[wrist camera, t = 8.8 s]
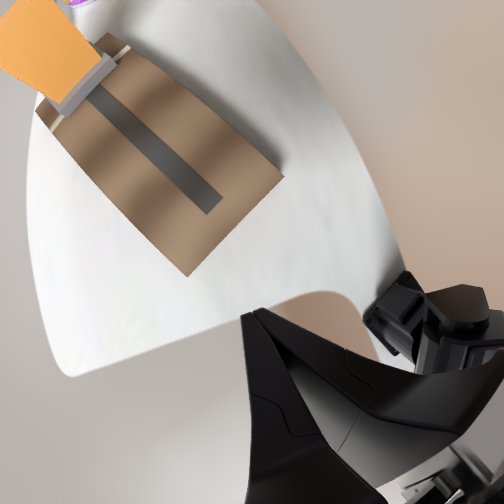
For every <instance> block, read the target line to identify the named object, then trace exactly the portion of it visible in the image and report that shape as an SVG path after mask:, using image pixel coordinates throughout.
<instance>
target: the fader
mask: <svg viewBox="0 0 504 504" xmlns="http://www.w3.org/2000/svg"><path fill="white" fill-rule="evenodd" d="M116 66H117V64H116V63H115V62H114V61H113V59H112V58H111V57H110V56H109V55H107V54H106V53H105V52H103V51H102V50H100V49H99V48H98V47H96V46H95V45H94V44H92V43H91V42H88V41H87V40H86V39H85V38H84V36H83V35H82V34H81V33H80V32H79V30H78V29H77V28H76V27H75V26H74V25H73V23H72V22H71V21H70V20H69V19H68V18H67V16H66V15H65V14H64V13H63V12H62V11H61V9H60V8H59V7H58V6H57V5H56V4H55V2H54V1H53V0H18V1H17V2H16V3H15V4H14V5H13V6H12V7H11V8H10V9H9V10H8V11H7V12H6V13H5V14H4V15H3V16H2V18H1V19H0V69H2V70H4V71H5V72H7V73H9V74H11V75H12V76H14V77H16V78H17V79H19V80H21V81H22V82H24V83H26V84H27V85H29V86H31V87H32V88H34V89H36V90H37V91H39V92H40V93H42V94H43V95H44V96H45V97H46V98H47V100H48V101H49V102H50V103H51V104H52V105H53V107H54V108H55V109H56V110H57V111H58V112H59V113H60V114H62V115H63V116H65V117H67V118H69V116H70V115H71V114H72V113H73V112H74V110H75V109H76V108H77V107H78V106H79V105H80V103H81V102H82V101H83V100H84V99H85V98H86V97H87V96H88V94H89V93H90V92H91V91H92V90H93V89H94V88H95V87H96V86H97V85H98V84H99V83H100V82H101V81H102V80H103V79H104V78H105V77H106V76H107V75H108V74H109V73H110V72H111V71H112V70H113V69H114V68H115V67H116Z"/></svg>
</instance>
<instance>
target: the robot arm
mask: <svg viewBox="0 0 504 504" xmlns="http://www.w3.org/2000/svg"><path fill="white" fill-rule="evenodd" d="M406 275H407V278H406ZM368 319H370V320H369V322H367V320H368ZM240 320H241V329H242V339H243V348H244V357H245V365H246V374H247V383H248V392H249V401H250V411H251V446H250V447H251V448H250V467H249V480H248V488H247V493H246V499H245V504H388V502H387V500H386V499H385V498H384V497H383V496H382V495H381V494H380V493H379V492H378V491H377V490H376V489H375V488H377V487H379V486H382V485H384V484H386V483H388V482H390V481H392V480H395V481H396V483H397V484H398V485H399V486H400V487H401V489H402V490H403V491H402V492H401V494H402V496H403V497H404V498H405V499H406V500H407V502H406V503H405V504H445V503H446V502H447V501H448V500H449V499H450V498H451V497H452V496H453V495H454V494H455V493H456V491H458V489H460V490H461V492H459V493H458V494H457V495H455V496H454V497H453V498H452V499H451V500H450V501H449V502H448V503H446V504H504V312H503V311H501V310H491V309H489V306H488V303H487V300H486V296H485V293H484V290H483V288H481V287H475V286H470V285H465V284H460V285H457V286H453V287H450V288H445V289H442V290H438V291H434V292H430V293H424V291H423V290H422V288H421V287H420V285H419V284H418V282H417V281H416V279H415V278H414V277H413V275H412V274H411V273H410V272H409V271H404V272H403V273H402V274H401V275H400V276H399V278H398V279H397V280H396V281H395V283H393V284H392V285H391V286H390V288H389V289H388V290H387V291H386V292H385V293H384V295H383V296H382V297H381V298H380V299H379V300H378V302H377V303H376V305H375V306H374V307H373V308H372V309H371V310H370V311H369V312H368V313H367V314H366V316H365V317H364V318H363V324H364V325H365V326H366V327H367V328H368V329H369V330H370V331H371V332H372V333H373V334H374V336H375V337H376V338H377V339H378V340H379V341H380V342H381V343H382V344H383V345H384V346H385V348H386V349H387V350H388V351H389V352H390V353H391V354H392V355H393V356H397V355H398V354H399V353H401V354H402V355H403V356H405V357H406V358H407V359H408V360H409V361H411V362H412V363H413V364H414V365H415V371H414V373H412V372H408V371H405V370H401V369H398V368H395V367H392V366H389V365H385V364H382V363H379V362H377V361H374V360H371V359H368V358H366V357H363V356H361V355H359V354H356V353H354V352H352V351H350V350H348V349H345V350H344V348H343V347H341V346H339V345H337V344H335V343H333V342H331V341H328V340H327V339H325V338H322V337H320V336H318V335H316V334H314V333H312V332H310V331H308V330H306V329H304V328H302V327H300V326H298V325H296V324H294V323H292V322H290V321H288V320H286V319H285V318H283V317H281V316H279V315H277V314H275V313H273V312H271V311H269V310H267V309H265V308H259V309H256V310H254V311H252V312H248V313H246V314H243V315H241V316H240ZM395 351H396V352H395ZM326 440H327V441H326ZM328 443H329V444H330V445H331V446H330V445H329V444H328ZM331 447H332V448H333V449H334V450H333V449H332V448H331Z"/></svg>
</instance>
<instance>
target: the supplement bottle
mask: <svg viewBox="0 0 504 504" xmlns="http://www.w3.org/2000/svg"><path fill="white" fill-rule="evenodd" d="M64 1H65V2H66V4H67V5H68V6H69V7H72V8H79V7H82V6H85V5H88V4H90V3H92V2H93V1H95V0H64Z"/></svg>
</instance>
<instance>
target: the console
mask: <svg viewBox="0 0 504 504" xmlns="http://www.w3.org/2000/svg"><path fill="white" fill-rule="evenodd" d="M94 45H95V46H96V47H98V48H99V49H100V50H102V51H103V52H105V53H106V54H107V55H109V56H110V57H111V58H112V59H113V61H114V62H115V63H116V64H117V66H116V67H115V68H114V69H113V70H112V71H111V72H110V73H109V74H108V75H107V76H106V77H105V78H104V79H103V80H102V81H101V82H100V83H99V84H98V85H97V86H96V87H95V88H94V89H93V90H92V91H91V92H90V93H89V94H88V96H87V97H86V98H85V99H84V100H83V101H82V102H81V103H80V105H79V106H78V107H77V108H76V109H75V110H74V112H73V113H72V114H71V115H70V116H69V118H67V117H65V116H63V115H62V114H60V113H59V112H58V111H57V110H56V109H55V108H54V107H53V105H52V104H51V103H50V102H49V101H48V100H47V98H46V97H45V98H44V100H43V101H42V102H41V103H40V105H39V106H38V107H37V109H36V110H35V112H36V113H37V114H38V116H39V117H40V118H41V120H42V121H43V122H44V123H45V125H46V126H47V127H48V129H49V130H50V132H51V133H52V134H53V135H54V136H55V137H56V139H57V140H58V141H59V142H60V143H61V145H62V146H63V147H64V148H65V150H66V151H67V152H68V153H69V154H70V155H71V157H72V158H73V159H74V160H75V161H76V163H77V164H78V165H79V166H80V167H81V168H82V169H83V171H84V172H85V173H86V174H87V175H88V176H89V177H90V179H91V180H92V181H93V182H94V183H95V184H96V185H97V186H98V187H99V189H100V190H101V191H102V192H103V193H104V194H105V195H106V196H107V197H108V198H109V199H110V201H111V202H112V203H113V204H114V205H115V206H116V207H117V208H118V209H119V210H120V211H121V212H122V213H123V214H124V215H125V216H126V218H127V219H128V220H129V221H130V222H131V223H132V224H133V225H134V226H135V227H136V228H137V229H138V230H139V231H140V232H141V233H142V234H143V235H144V236H145V237H146V238H147V239H148V240H149V241H150V242H151V243H152V244H153V245H154V246H155V247H156V248H157V249H158V250H159V251H160V252H161V253H162V254H163V255H164V256H165V257H166V258H167V259H168V260H169V261H170V262H172V263H173V264H174V265H175V266H176V267H177V268H178V269H179V270H180V271H181V272H182V273H183V274H184V275H185V276H186V277H188V276H189V275H190V274H191V273H192V272H193V271H194V270H195V269H196V268H197V267H198V266H199V264H200V263H201V262H202V261H203V260H204V259H205V258H206V257H207V256H208V255H209V254H210V253H211V252H212V251H213V250H214V249H215V247H216V246H217V245H218V244H219V243H220V242H221V241H222V240H223V239H224V238H225V237H226V236H227V235H228V234H229V233H230V232H231V231H232V230H233V229H234V228H235V227H236V226H237V224H238V223H239V222H240V221H241V220H242V219H243V218H244V217H245V216H246V215H247V214H248V213H249V212H250V211H251V210H252V209H253V208H254V207H255V206H256V205H257V204H258V203H259V202H260V201H261V200H262V199H263V198H264V197H265V196H266V195H267V194H268V193H269V192H270V191H271V190H272V189H273V188H274V187H275V186H276V185H277V184H278V183H279V182H280V181H281V180H282V179H283V178H284V177H285V176H284V175H283V174H282V173H281V172H280V171H279V170H277V169H276V168H275V167H274V166H273V165H272V164H271V163H270V162H269V161H268V160H267V159H266V158H265V157H264V156H263V155H262V154H261V153H260V152H259V151H258V150H256V149H255V148H254V147H253V146H252V145H251V144H250V143H249V142H248V141H247V140H246V139H245V138H243V137H242V136H241V135H240V134H239V133H238V132H237V131H236V130H234V129H233V128H232V127H231V126H230V125H229V124H228V123H227V122H225V121H224V120H223V119H222V118H221V117H220V116H218V115H217V114H216V113H215V112H214V111H213V110H211V109H210V108H209V107H208V106H207V105H205V104H204V103H203V102H202V101H201V100H199V99H198V98H197V97H196V96H194V95H193V94H192V93H191V92H189V91H188V90H187V89H186V88H184V87H183V86H182V85H181V84H179V83H178V82H177V81H175V80H174V79H173V78H172V77H170V76H169V75H168V74H166V73H165V72H164V71H162V70H161V69H160V68H158V67H157V66H156V65H154V64H153V63H152V62H150V61H149V60H147V59H146V58H145V57H143V56H142V55H140V54H139V53H137V52H136V51H135V50H133V49H132V48H131V47H129V46H128V45H126V44H124V43H123V42H121V41H120V40H118V39H117V38H115V37H114V36H112V35H111V34H109V33H107V34H106V35H104V36H103V37H102V38H101V39H100V40H99V41H98V42H97V43H95V44H94Z"/></svg>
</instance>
